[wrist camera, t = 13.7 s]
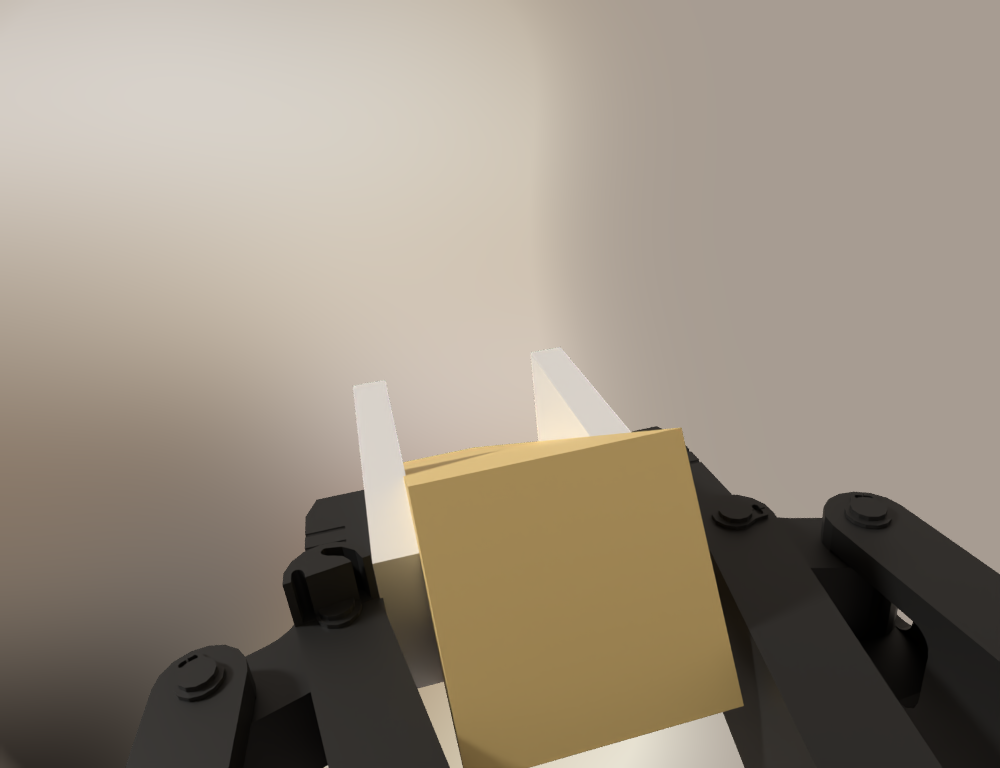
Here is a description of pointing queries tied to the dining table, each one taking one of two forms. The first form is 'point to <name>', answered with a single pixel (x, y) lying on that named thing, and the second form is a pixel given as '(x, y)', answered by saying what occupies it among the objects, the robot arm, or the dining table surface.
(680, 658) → the block
